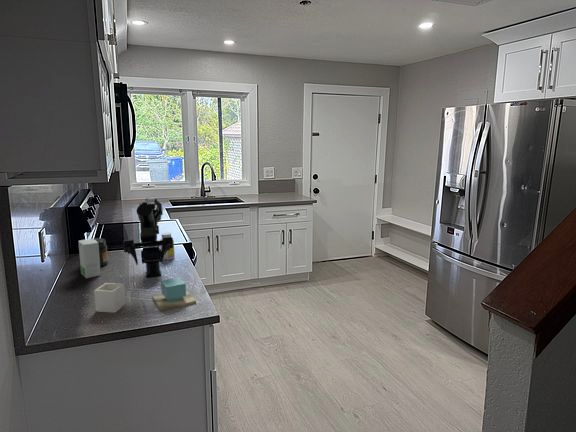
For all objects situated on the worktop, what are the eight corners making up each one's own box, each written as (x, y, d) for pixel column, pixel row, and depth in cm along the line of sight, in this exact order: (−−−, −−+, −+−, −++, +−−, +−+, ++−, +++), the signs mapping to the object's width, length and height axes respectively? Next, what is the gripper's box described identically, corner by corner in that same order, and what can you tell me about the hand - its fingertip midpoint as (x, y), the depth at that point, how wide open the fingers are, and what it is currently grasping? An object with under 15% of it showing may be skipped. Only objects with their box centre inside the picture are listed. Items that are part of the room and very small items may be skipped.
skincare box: (81, 273, 175) (77, 240, 172) (96, 270, 179) (93, 237, 176) (86, 278, 169) (82, 244, 166) (102, 275, 173) (98, 241, 170)
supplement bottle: (176, 256, 201) (174, 232, 198) (172, 260, 194) (171, 235, 192) (163, 256, 200) (161, 232, 198) (159, 260, 194) (157, 235, 191)
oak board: (152, 298, 150) (152, 295, 149) (185, 291, 156) (185, 289, 156) (161, 311, 139) (160, 308, 139) (196, 303, 145) (196, 300, 145)
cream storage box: (107, 302, 145) (105, 282, 144) (125, 303, 145) (124, 283, 143) (96, 311, 138) (94, 290, 137) (115, 312, 138) (113, 291, 136)
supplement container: (112, 261, 192) (110, 237, 190) (102, 268, 182) (99, 243, 180) (91, 260, 193) (88, 237, 190) (80, 268, 182) (77, 243, 180)
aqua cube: (162, 296, 148) (160, 281, 147) (180, 293, 152) (179, 277, 151) (167, 303, 142) (166, 287, 141) (186, 299, 146) (185, 283, 145)
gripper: (121, 220, 149) (121, 256, 142) (171, 217, 155) (174, 251, 148) (124, 234, 158) (124, 269, 151) (171, 231, 164) (174, 264, 157)
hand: (149, 263), depth 151 cm, fingers open, 9 cm apart
